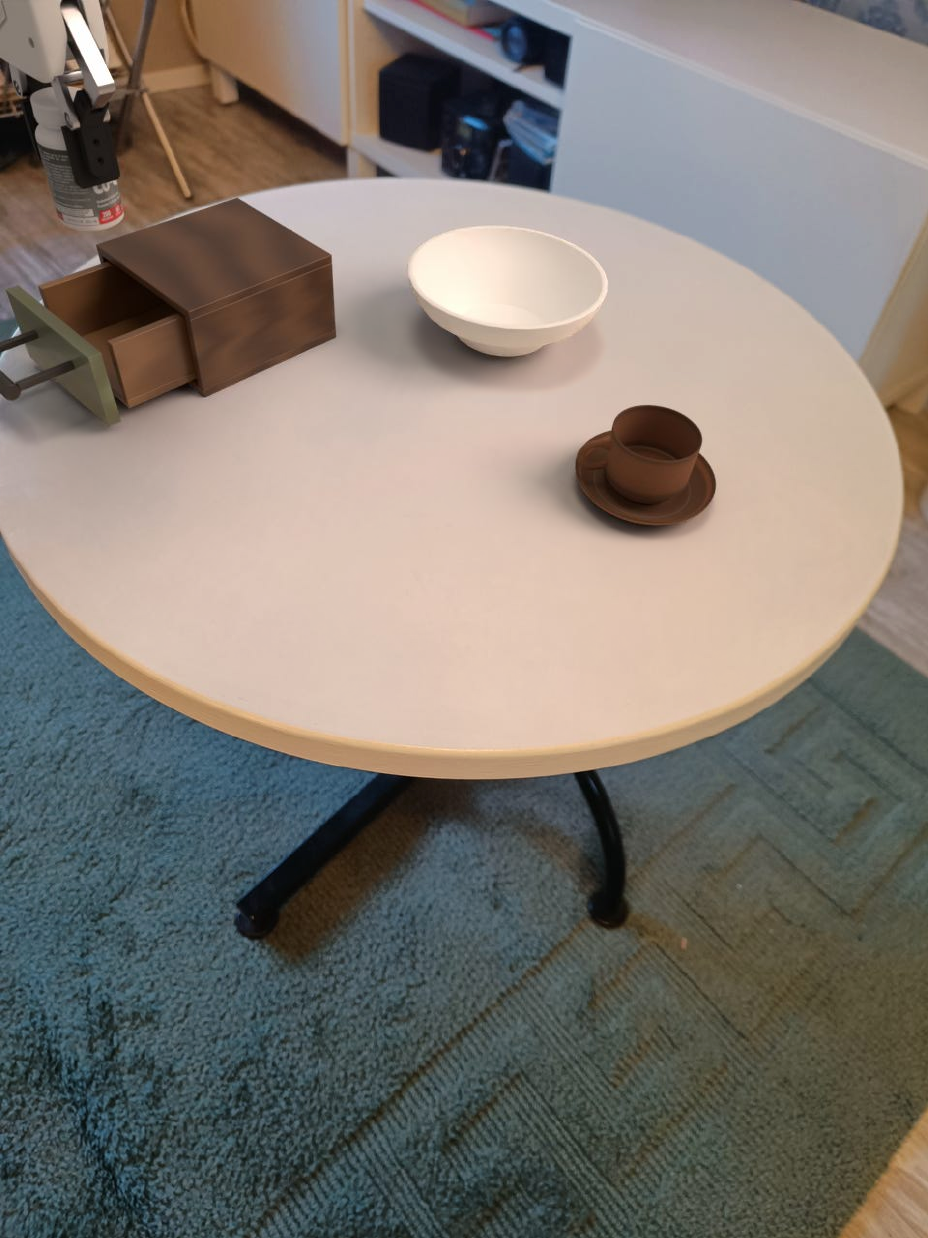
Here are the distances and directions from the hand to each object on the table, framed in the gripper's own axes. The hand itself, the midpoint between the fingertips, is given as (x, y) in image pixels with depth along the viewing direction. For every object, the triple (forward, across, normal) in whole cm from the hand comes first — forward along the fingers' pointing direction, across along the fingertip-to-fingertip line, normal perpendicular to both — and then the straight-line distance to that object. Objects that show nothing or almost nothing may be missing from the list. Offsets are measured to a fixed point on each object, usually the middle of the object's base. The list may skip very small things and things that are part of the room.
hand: (78, 166), depth 63 cm
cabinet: (+20, -4, +12) cm, 24 cm away
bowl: (+20, +14, +33) cm, 42 cm away
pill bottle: (+4, 0, 0) cm, 4 cm away
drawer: (+19, -4, 0) cm, 20 cm away
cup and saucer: (+20, +38, +26) cm, 50 cm away
